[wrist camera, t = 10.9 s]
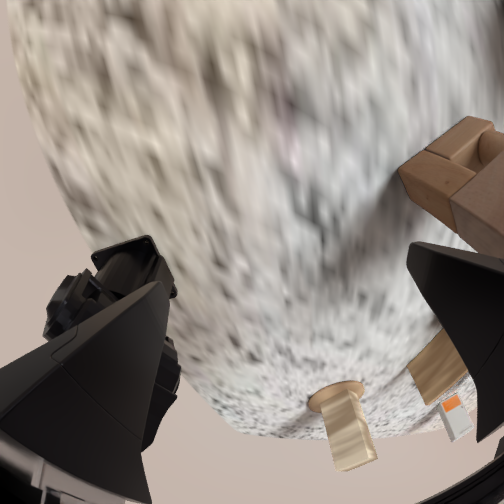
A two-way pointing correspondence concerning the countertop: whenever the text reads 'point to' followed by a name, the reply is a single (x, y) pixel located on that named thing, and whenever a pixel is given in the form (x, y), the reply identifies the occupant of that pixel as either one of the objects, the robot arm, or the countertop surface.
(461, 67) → the countertop surface
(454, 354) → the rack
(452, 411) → the skincare box
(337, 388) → the coaster
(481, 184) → the wooden block
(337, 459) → the pale wood block
